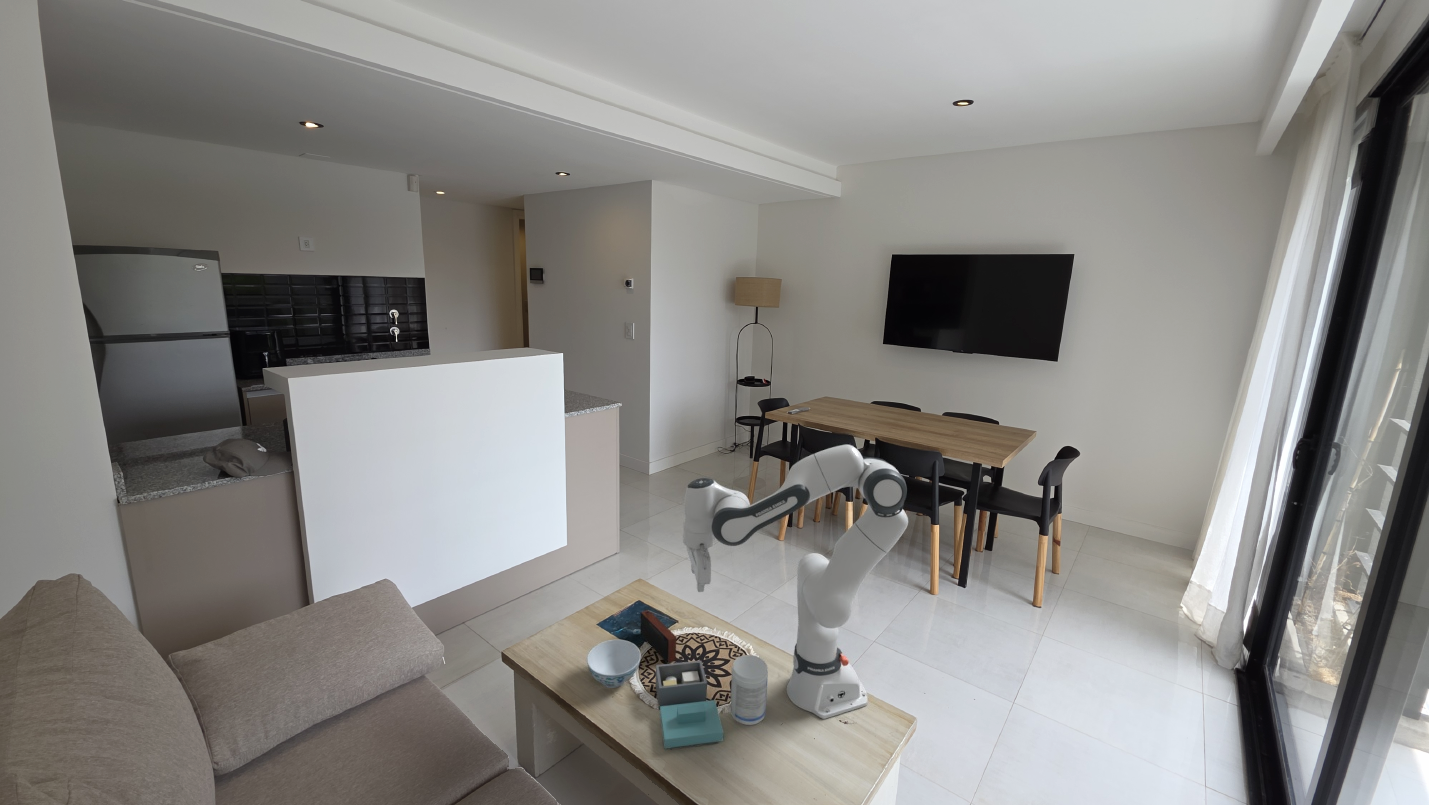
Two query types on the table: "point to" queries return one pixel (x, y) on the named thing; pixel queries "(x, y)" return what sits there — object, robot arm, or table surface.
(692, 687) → the storage box
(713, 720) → the lid
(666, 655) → the radio
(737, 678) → the supplement tub
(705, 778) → the table surface
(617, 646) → the chinaware
